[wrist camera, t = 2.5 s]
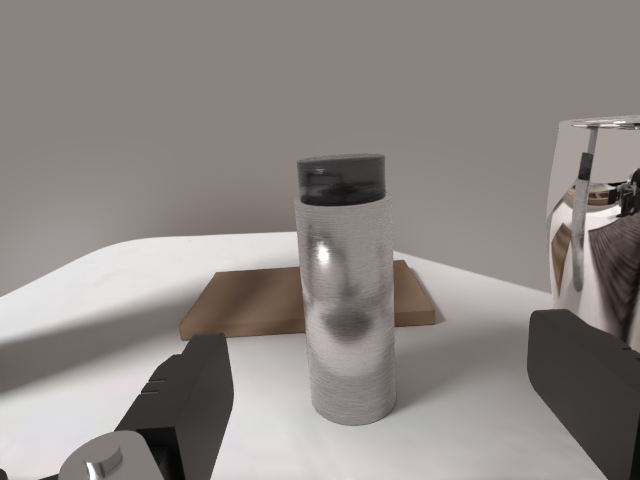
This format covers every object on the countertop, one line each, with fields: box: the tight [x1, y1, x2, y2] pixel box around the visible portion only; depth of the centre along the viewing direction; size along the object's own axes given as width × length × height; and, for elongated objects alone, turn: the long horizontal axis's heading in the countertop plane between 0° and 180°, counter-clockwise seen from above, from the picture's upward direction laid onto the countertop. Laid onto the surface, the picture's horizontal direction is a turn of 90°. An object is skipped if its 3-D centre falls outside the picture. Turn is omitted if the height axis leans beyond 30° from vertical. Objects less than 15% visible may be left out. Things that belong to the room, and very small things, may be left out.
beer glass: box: [546, 115, 640, 353], centre depth 21 cm, size 7×7×15 cm
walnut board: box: [179, 260, 435, 340], centre depth 38 cm, size 20×12×1 cm, turn 90°
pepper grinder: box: [294, 154, 396, 426], centre depth 22 cm, size 5×5×14 cm
